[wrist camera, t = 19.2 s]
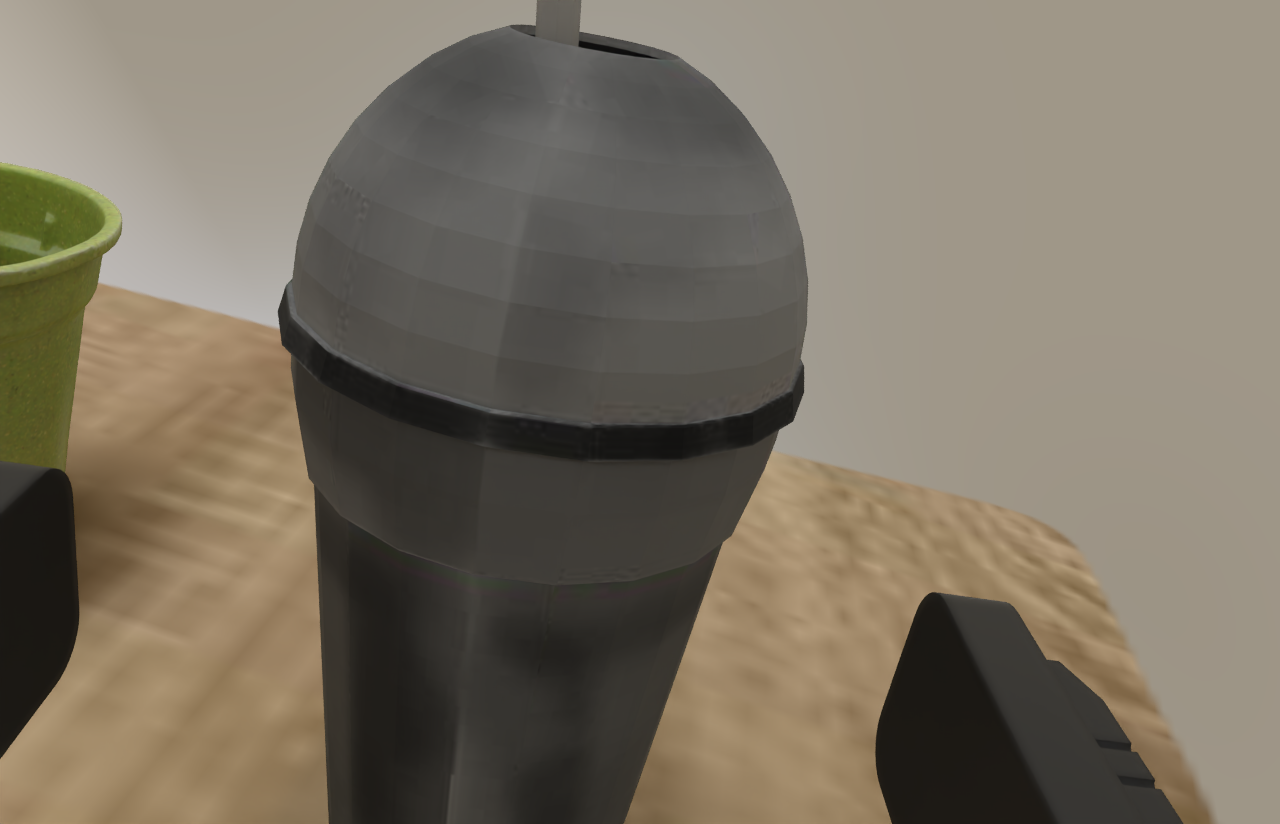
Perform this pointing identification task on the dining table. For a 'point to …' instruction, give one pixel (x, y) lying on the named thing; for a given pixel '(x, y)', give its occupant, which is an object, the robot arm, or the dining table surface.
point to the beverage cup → (531, 413)
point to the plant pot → (45, 304)
